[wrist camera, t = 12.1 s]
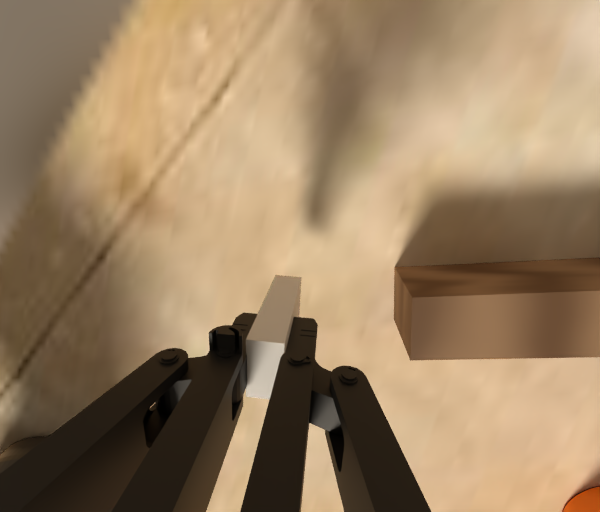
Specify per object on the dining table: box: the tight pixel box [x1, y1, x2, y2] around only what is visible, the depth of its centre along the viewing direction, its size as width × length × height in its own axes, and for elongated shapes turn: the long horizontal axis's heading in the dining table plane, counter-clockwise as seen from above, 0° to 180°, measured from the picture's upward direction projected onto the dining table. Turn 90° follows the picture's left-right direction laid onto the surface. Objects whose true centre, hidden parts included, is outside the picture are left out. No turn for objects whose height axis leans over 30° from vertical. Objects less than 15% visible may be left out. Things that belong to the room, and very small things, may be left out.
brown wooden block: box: [394, 258, 600, 360], centre depth 19 cm, size 14×4×5 cm, turn 95°
